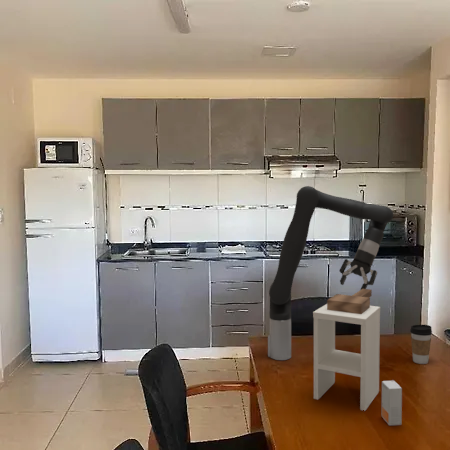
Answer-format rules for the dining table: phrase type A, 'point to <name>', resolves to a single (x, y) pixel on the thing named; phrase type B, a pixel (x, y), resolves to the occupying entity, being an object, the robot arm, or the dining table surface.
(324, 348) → the shelf stand
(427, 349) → the coffee cup
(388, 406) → the skincare box
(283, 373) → the dining table surface
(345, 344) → the dining table surface
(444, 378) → the dining table surface
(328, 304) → the walnut mallet
